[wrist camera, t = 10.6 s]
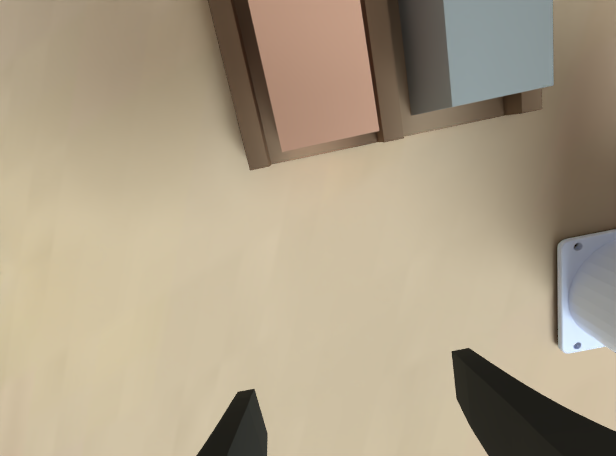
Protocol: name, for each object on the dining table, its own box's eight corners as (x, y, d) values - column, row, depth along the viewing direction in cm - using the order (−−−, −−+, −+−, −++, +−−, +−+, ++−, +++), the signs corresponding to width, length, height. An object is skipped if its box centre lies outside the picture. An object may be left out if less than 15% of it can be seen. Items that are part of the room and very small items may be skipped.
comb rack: (508, -103, 16) (537, -136, 14) (516, 112, 19) (541, 109, 17) (206, -34, 16) (193, -57, 14) (255, 167, 19) (250, 170, 17)
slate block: (474, -76, 16) (550, -170, 11) (484, 100, 18) (553, 85, 13) (391, -57, 16) (431, -142, 11) (411, 115, 18) (452, 106, 13)
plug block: (330, -35, 16) (343, -110, 11) (358, 133, 18) (379, 131, 13) (250, -16, 16) (229, -82, 11) (286, 149, 18) (282, 151, 13)
